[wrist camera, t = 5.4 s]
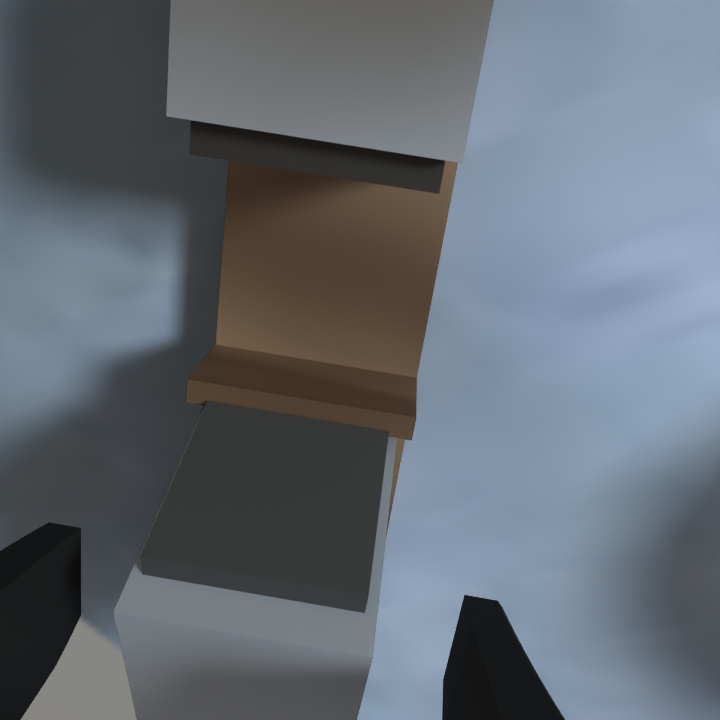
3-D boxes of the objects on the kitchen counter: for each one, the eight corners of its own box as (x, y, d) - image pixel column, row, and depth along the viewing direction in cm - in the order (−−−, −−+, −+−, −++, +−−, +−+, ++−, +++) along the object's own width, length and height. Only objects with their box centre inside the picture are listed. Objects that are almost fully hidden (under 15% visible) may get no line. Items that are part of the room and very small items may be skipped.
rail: (375, 578, 19) (357, 771, 13) (212, 550, 19) (130, 730, 13) (506, -114, 13) (566, -259, 7) (267, -150, 13) (160, -318, 8)
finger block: (374, 541, 17) (346, 761, 13) (213, 513, 17) (137, 724, 13) (401, 408, 14) (377, 640, 10) (208, 376, 14) (109, 594, 10)
